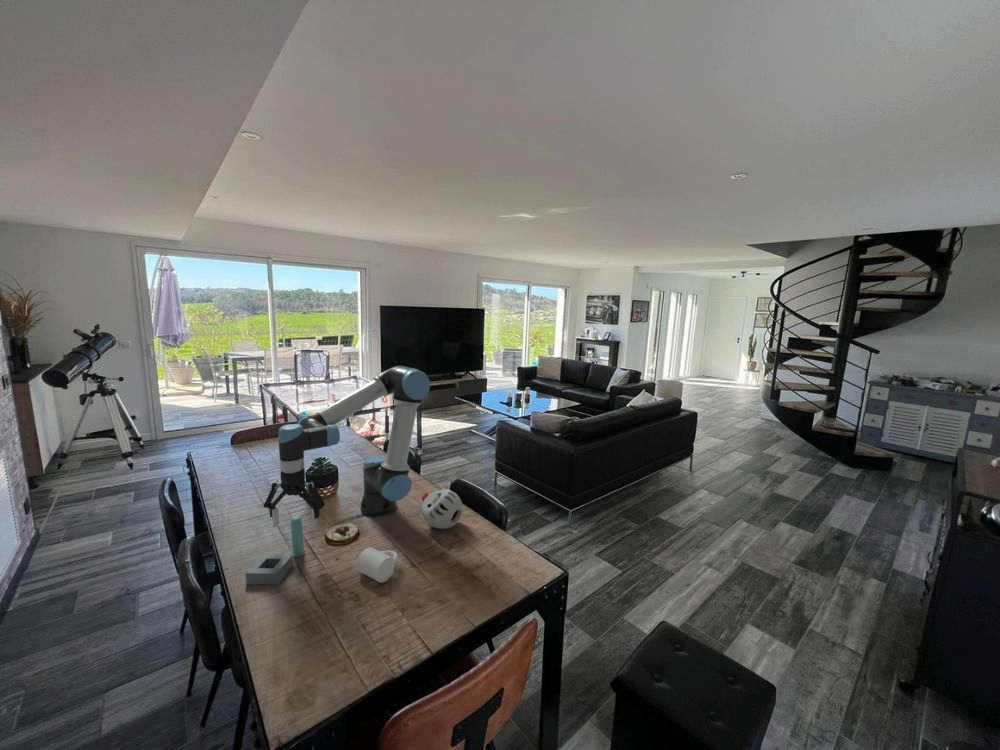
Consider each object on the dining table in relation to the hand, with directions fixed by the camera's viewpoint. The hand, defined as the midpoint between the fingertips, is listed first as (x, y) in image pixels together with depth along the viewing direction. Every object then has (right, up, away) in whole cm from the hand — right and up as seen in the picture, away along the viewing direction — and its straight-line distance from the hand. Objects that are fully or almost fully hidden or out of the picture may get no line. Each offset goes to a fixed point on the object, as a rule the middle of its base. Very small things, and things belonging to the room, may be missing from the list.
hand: (295, 525), depth 142 cm
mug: (+32, -14, -6) cm, 35 cm away
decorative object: (+48, -9, +24) cm, 54 cm away
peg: (0, -11, +2) cm, 11 cm away
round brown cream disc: (+11, -10, +14) cm, 20 cm away
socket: (-4, -13, -9) cm, 16 cm away
